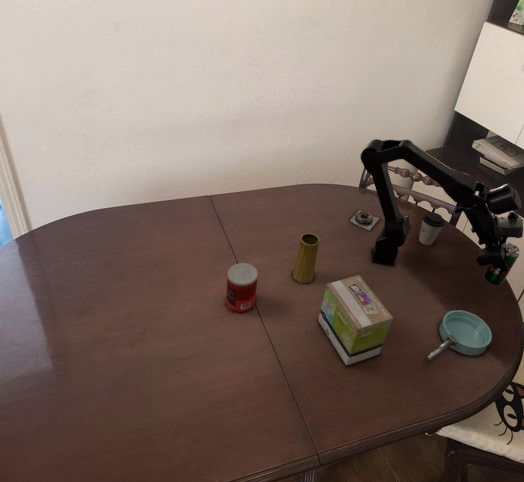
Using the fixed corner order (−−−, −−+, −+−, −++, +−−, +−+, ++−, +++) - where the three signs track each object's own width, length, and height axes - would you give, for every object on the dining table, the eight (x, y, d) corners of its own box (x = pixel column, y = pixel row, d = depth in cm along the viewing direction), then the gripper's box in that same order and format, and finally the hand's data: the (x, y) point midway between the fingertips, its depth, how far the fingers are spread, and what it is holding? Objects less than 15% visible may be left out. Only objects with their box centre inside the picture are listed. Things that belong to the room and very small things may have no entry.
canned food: (259, 297, 127) (262, 268, 120) (246, 317, 121) (249, 288, 114) (234, 287, 129) (236, 258, 122) (220, 306, 123) (222, 277, 116)
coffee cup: (438, 239, 154) (448, 215, 148) (433, 250, 149) (442, 226, 143) (418, 231, 156) (427, 207, 150) (412, 241, 152) (421, 217, 145)
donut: (359, 210, 163) (360, 205, 162) (379, 219, 160) (380, 214, 159) (348, 221, 158) (349, 216, 156) (369, 230, 154) (370, 226, 153)
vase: (315, 272, 136) (323, 235, 128) (310, 286, 132) (318, 248, 123) (296, 266, 138) (302, 229, 129) (290, 279, 133) (296, 242, 124)
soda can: (506, 283, 129) (525, 252, 122) (492, 287, 127) (511, 255, 120) (492, 271, 132) (510, 240, 125) (479, 275, 131) (496, 243, 123)
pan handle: (448, 338, 118) (450, 334, 117) (456, 344, 117) (458, 340, 116) (422, 357, 113) (424, 353, 112) (430, 364, 111) (432, 360, 110)
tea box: (316, 321, 122) (325, 281, 113) (348, 311, 125) (360, 272, 116) (345, 367, 111) (358, 328, 102) (380, 355, 115) (395, 316, 106)
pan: (442, 351, 117) (447, 343, 115) (435, 315, 127) (439, 306, 125) (491, 359, 116) (497, 351, 114) (480, 322, 126) (485, 314, 124)
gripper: (509, 228, 110) (537, 279, 113) (515, 192, 124) (540, 238, 127) (464, 241, 118) (491, 288, 121) (474, 205, 131) (499, 249, 134)
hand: (507, 265), depth 126 cm, fingers closed on soda can, 5 cm apart
